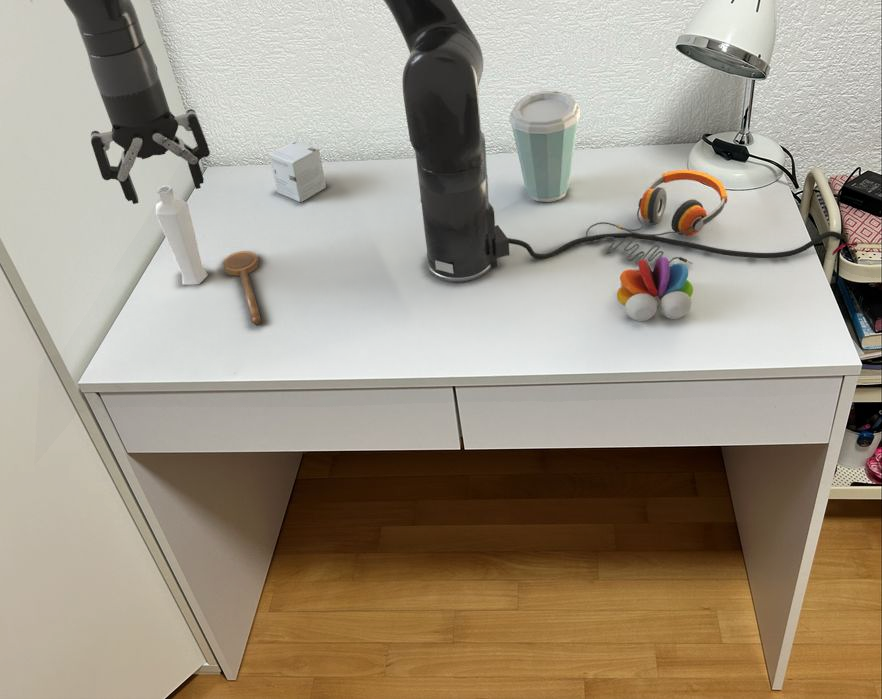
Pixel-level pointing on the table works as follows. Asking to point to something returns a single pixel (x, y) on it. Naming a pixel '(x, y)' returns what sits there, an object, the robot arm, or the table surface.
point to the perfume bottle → (180, 235)
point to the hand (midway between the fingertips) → (167, 193)
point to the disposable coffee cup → (545, 142)
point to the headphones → (684, 219)
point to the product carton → (297, 170)
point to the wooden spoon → (244, 277)
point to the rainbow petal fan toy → (655, 290)
